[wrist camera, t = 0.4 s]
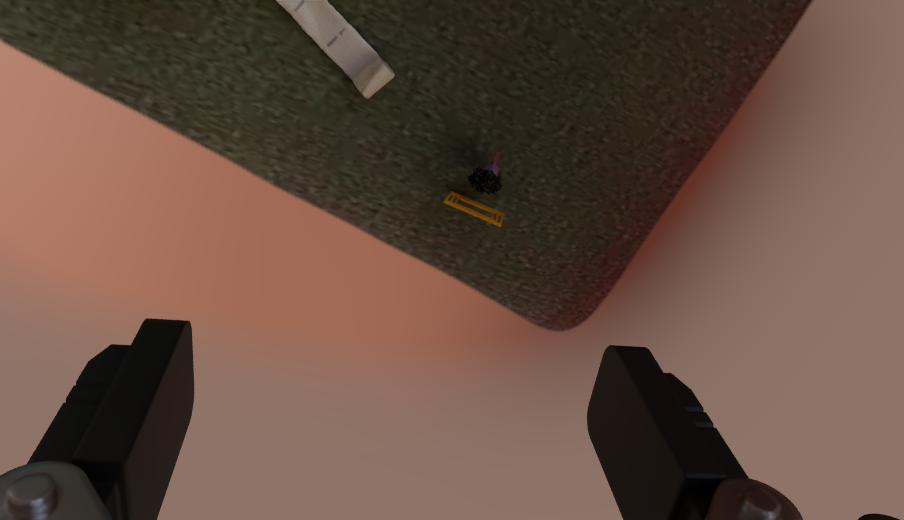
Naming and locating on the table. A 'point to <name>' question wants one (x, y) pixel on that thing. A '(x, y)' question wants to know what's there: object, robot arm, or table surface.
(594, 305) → the table surface
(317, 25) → the toy measuring tape
